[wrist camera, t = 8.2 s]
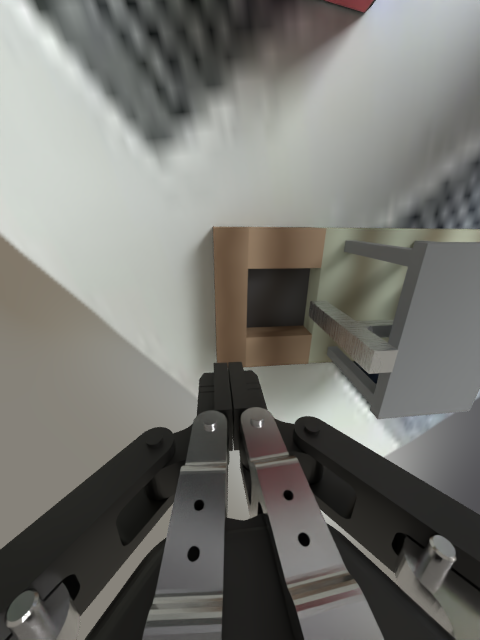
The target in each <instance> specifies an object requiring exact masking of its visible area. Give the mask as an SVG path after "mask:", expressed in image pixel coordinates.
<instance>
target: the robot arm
mask: <svg viewBox="0 0 480 640" xmlns="http://www.w3.org/2000/svg"><path fill="white" fill-rule="evenodd" d="M233 444H234V450H239V451H240V468H241V474H242V478H243V484H244V488H245V493H246V499H247V504H248V509H249V515H250V519H248V520H245V521H243V520H235V519H230V518H227V508H228V506H227V505H228V465H229V451H232V450H233ZM173 502H174V504H173ZM172 504H173V509H172V514H171V519H170V524H169V528H168V533H167V538H165V539H164V540H163V541H161V542H160V543H159V544H158V545H156V546H155V547H154V548H153V549H152V550H151V551H150V552H149V553H148V554H147V556H146V557H145V558H144V559H143V560H142V562H141V563H140V564H139V566H138V567H137V568H136V570H135V571H134V573H133V574H132V575H131V577H130V578H129V579H128V581H127V582H126V584H125V585H124V586H123V588H122V589H121V590H120V592H119V593H118V594H117V596H116V597H115V599H114V600H113V601H112V603H111V604H110V605H109V607H108V608H107V609H106V611H105V612H104V614H103V615H102V616H101V618H100V619H99V620H98V622H97V623H96V625H95V626H94V627H93V629H92V630H91V632H90V633H89V634H88V635H87V637H86V638H85V640H480V515H479V514H477V513H476V512H474V511H472V510H471V509H469V508H467V507H466V506H464V505H462V504H460V503H459V502H457V501H455V500H454V499H452V498H450V497H449V496H447V495H446V494H444V493H442V492H440V491H439V490H437V489H435V488H434V487H432V486H430V485H429V484H427V483H425V482H424V481H422V480H420V479H419V478H417V477H415V476H414V475H412V474H410V473H409V472H407V471H405V470H404V469H402V468H400V467H398V466H397V465H395V464H394V463H392V462H390V461H389V460H387V459H385V458H384V457H382V456H380V455H378V454H377V453H375V452H373V451H372V450H370V449H368V448H367V447H365V446H363V445H362V444H360V443H358V442H357V441H355V440H353V439H352V438H350V437H348V436H347V435H345V434H343V433H342V432H340V431H338V430H337V429H335V428H333V427H332V426H330V425H328V424H327V423H325V422H323V421H322V420H320V419H318V418H315V417H310V416H305V417H301V418H299V419H298V420H297V421H296V422H295V424H291V423H285V422H281V421H279V420H277V419H275V418H274V417H273V415H272V414H271V413H270V412H269V411H268V410H267V407H266V403H265V400H264V397H263V393H262V390H261V386H260V384H259V380H258V376H257V375H256V374H255V373H254V372H253V371H252V370H249V371H244V370H243V365H242V362H228V365H227V362H225V363H214V373H204V374H203V375H202V377H201V378H200V380H199V394H198V407H197V417H196V418H195V419H194V422H193V424H192V425H191V426H190V427H188V428H186V429H184V430H182V431H179V432H176V433H174V434H173V433H172V432H171V431H170V430H169V429H167V428H163V427H157V428H152V429H150V430H148V431H146V432H144V433H143V434H142V435H140V436H139V437H138V438H137V439H136V440H134V441H133V442H132V443H131V444H129V445H128V446H127V447H126V448H124V449H123V450H122V451H121V452H120V453H118V454H117V455H116V456H115V457H113V458H112V459H111V460H110V461H109V462H107V463H106V464H105V465H104V466H103V467H101V468H100V469H99V470H98V471H96V472H95V473H94V474H93V475H91V476H90V477H89V478H88V479H86V480H85V481H84V482H83V483H82V484H80V485H79V486H78V487H77V488H75V489H74V490H73V491H72V492H71V493H69V494H68V495H67V496H66V497H64V498H63V499H62V500H61V501H59V502H58V503H57V504H56V505H55V506H53V507H52V508H51V509H50V510H49V511H47V512H46V513H45V514H43V515H42V516H41V517H40V518H39V519H38V520H36V521H35V522H34V523H33V524H31V525H30V526H29V527H28V528H26V529H25V530H24V531H23V532H21V533H20V534H19V535H18V536H16V537H15V538H14V539H13V540H12V541H10V542H9V543H8V544H7V545H6V546H4V547H3V548H2V549H1V550H0V640H77V637H78V634H79V629H80V616H81V615H82V613H83V612H84V611H85V610H86V608H87V607H88V606H89V605H90V604H91V602H92V601H93V600H94V599H95V598H96V596H97V595H98V594H99V593H100V591H101V590H102V589H103V588H104V587H105V585H106V584H107V583H108V582H109V581H110V579H111V578H112V577H113V576H114V574H115V573H116V572H117V571H118V570H119V568H120V567H121V566H122V564H123V563H124V562H125V561H126V560H127V559H128V557H129V556H130V555H131V554H132V552H133V551H134V550H135V549H136V548H137V546H138V545H139V544H140V543H141V541H142V540H143V539H144V538H145V536H146V535H147V534H148V533H149V532H150V531H151V529H152V528H153V527H154V526H155V524H156V523H157V522H158V521H159V520H160V518H161V517H162V516H163V514H164V513H165V512H166V511H167V510H168V508H169V507H170V506H171V505H172ZM320 510H322V511H323V512H324V513H325V514H326V515H328V516H329V517H330V518H331V519H332V520H333V521H335V522H336V523H337V524H338V525H339V526H340V527H342V528H343V529H344V530H345V531H346V532H347V533H349V534H350V535H351V536H352V537H353V538H354V539H355V540H357V541H358V542H359V543H360V544H361V545H362V546H364V547H365V548H366V549H367V550H368V551H369V552H371V553H372V554H373V555H374V556H375V557H376V558H377V559H379V560H380V561H381V562H382V563H383V564H384V565H386V566H387V567H388V568H389V569H390V570H391V571H393V572H394V573H395V576H396V580H397V582H398V585H399V586H398V585H396V584H395V583H394V582H393V581H392V580H391V579H390V578H389V577H388V576H387V575H386V574H385V573H384V572H382V571H381V570H380V569H379V568H378V567H377V566H376V565H375V564H374V563H373V562H372V561H371V560H369V559H368V558H367V557H366V556H365V555H364V554H363V553H362V552H361V551H360V550H358V548H356V547H355V546H354V545H353V544H352V543H351V542H350V541H349V540H348V539H347V538H346V537H345V536H343V535H342V534H341V533H340V532H339V531H337V530H336V529H335V528H333V527H332V526H330V525H329V524H327V523H326V522H325V520H324V518H323V515H322V513H321V511H320Z"/></svg>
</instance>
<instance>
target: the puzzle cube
mask: <svg viewBox="0 0 480 640" xmlns="http://www.w3.org/2000/svg"><path fill="white" fill-rule="evenodd" d="M324 1H328V2H331V3H334V4H337V5H341V6H344V7H347V8H351V9H354V10H357V11H360V12H364V13H365V12H366V11H367V10H368V9H369V8H370V7H371V6H372V5H373V3H374V2H375V1H376V0H324Z"/></svg>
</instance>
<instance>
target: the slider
mask: <svg viewBox="0 0 480 640" xmlns="http://www.w3.org/2000/svg"><path fill="white" fill-rule="evenodd" d="M309 317H310V318H311V319H312V320H313V321H314V322H315V323H316V324H317V325H318V326H319V327H320V328H322V329H323V330H324V331H325V332H326V333H327V334H328V335H329V336H330V337H331V338H332V339H333V340H334V341H335V342H336V343H337V344H338V345H339V346H340V347H341V348H342V349H343V350H345V351H346V352H347V353H348V354H349V355H350V356H351V357H352V358H353V359H354V360H355V361H356V362H357V363H358V364H359V365H360V366H361V367H362V368H363V369H364V370H365V371H367V372H368V373H369V374H372V373H387V372H392V371H393V367H394V364H395V360H396V357H397V353H398V350H397V349H396V348H394V347H393V346H392V345H390V344H389V343H387V342H386V341H384V340H383V339H381V338H385V337H389V336H390V332H391V329H392V325H393V321H394V320H374V321H355V320H354V319H352V318H351V317H349V316H348V315H346V314H345V313H343V312H342V311H340V310H339V309H337V308H336V307H335V306H333V305H332V304H330V303H329V302H327V301H310V308H309Z"/></svg>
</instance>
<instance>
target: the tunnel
mask: <svg viewBox="0 0 480 640" xmlns="http://www.w3.org/2000/svg"><path fill="white" fill-rule="evenodd" d="M344 252H348V253H352V254H356V255H360V256H365V257H369V258H373V259H377V260H382V261H386V262H390V263H394V264H399V265H403V266H407V267H408V268H407V272H406V276H405V280H404V283H403V287H402V291H401V295H400V298H399V302H398V306H397V310H396V313H395V317H394V321H393V325H392V329H391V332H390V336H389V340H388V343H389V344H390V345H392V346H393V347H394V348H396V349H397V350H398V353H397V357H396V360H395V364H394V367H393V371H392V372H387V373H380V374H379V377H378V381H377V385H376V384H375V383H374V382H373V381H372V380H371V379H370V378H369V377H368V376H367V375H366V374H365V373H364V372H363V371H362V370H361V369H360V368H359V367H358V366H357V365H355V364H354V363H353V362H352V361H351V360H350V359H349V358H348V357H347V356H346V355H345V354H344V353H343V352H342V351H341V350H340V349H339V348H338V347H337V346H331V347H328V350H327V356H328V357H329V358H330V359H331V360H332V361H333V362H334V363H335V365H336V366H337V367H338V368H339V369H340V370H341V371H342V373H343V374H344V375H345V376H346V377H347V378H348V379H349V380H350V382H351V383H352V384H353V385H354V386H355V387H356V388H357V390H358V391H359V392H360V393H361V394H362V395H363V396H364V397H365V399H366V400H367V401H368V402H369V403H370V404H371V408H370V411H371V412H372V413H373V414H374V415H375V417H376V418H377V419H385V418H396V417H408V416H419V415H431V414H442V413H453V412H464V411H469V410H470V409H471V406H472V404H473V402H474V400H475V398H476V396H477V393H478V391H479V389H480V242H434V241H415V242H414V246H413V248H407V247H399V246H392V245H385V244H378V243H371V242H364V241H357V240H346V241H345V247H344Z"/></svg>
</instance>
